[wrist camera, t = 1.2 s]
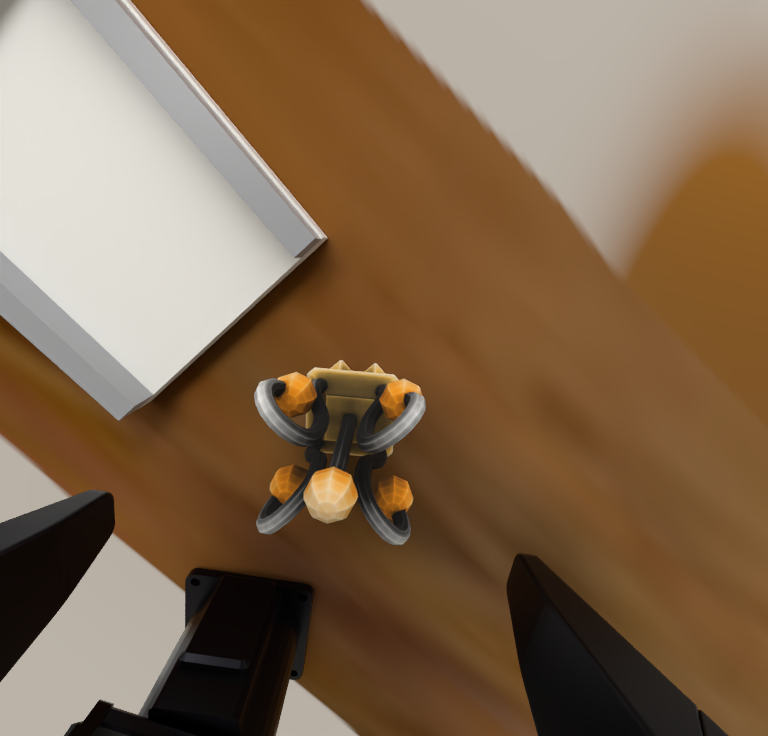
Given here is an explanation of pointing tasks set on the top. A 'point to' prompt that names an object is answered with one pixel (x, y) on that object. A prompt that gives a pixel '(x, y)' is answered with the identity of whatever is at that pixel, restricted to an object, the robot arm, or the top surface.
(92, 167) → the tray
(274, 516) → the figurine
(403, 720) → the top surface
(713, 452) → the top surface
